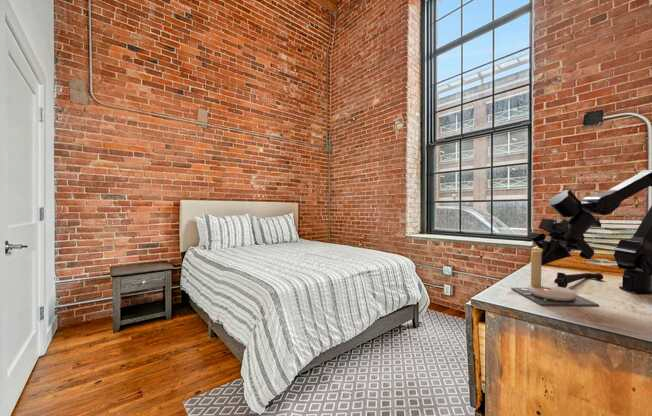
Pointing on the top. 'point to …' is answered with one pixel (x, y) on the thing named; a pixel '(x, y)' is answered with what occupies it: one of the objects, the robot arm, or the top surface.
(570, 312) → the top surface
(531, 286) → the beige stand
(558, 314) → the top surface
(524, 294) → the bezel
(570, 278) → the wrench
